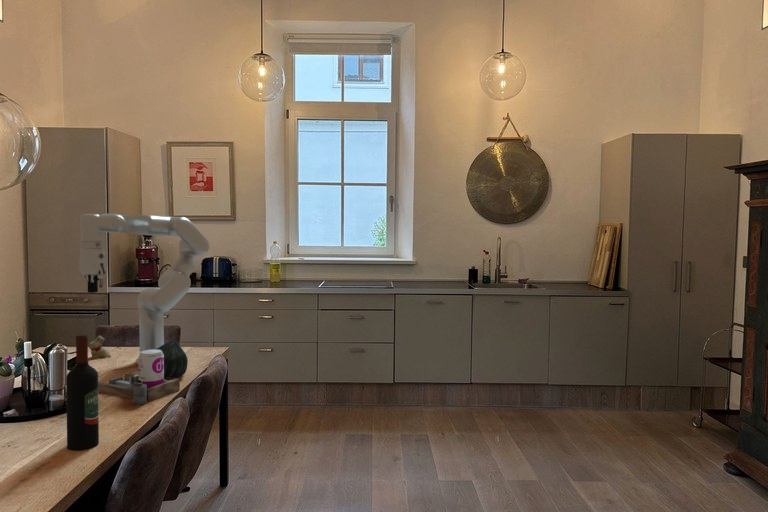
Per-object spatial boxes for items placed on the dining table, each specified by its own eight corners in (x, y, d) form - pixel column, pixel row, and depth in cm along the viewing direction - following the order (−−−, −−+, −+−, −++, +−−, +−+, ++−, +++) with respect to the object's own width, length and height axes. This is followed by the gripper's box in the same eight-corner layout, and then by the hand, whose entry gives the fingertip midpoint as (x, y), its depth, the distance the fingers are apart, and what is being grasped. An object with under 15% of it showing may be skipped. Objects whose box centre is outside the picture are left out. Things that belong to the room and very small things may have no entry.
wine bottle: (75, 439, 152) (73, 332, 150) (103, 439, 153) (102, 332, 151) (61, 451, 145) (59, 338, 143) (91, 450, 145) (90, 338, 143)
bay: (127, 380, 208) (127, 357, 207) (182, 390, 197) (182, 366, 197) (82, 394, 190) (82, 369, 190) (139, 406, 180) (139, 379, 179)
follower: (125, 381, 205) (125, 365, 205) (154, 386, 200) (154, 370, 199) (102, 388, 196) (102, 372, 196) (132, 394, 190) (131, 377, 190)
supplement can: (169, 391, 195) (168, 350, 194) (150, 398, 188) (150, 355, 187) (152, 388, 198) (151, 347, 198) (133, 395, 191) (133, 352, 190)
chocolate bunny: (97, 355, 244) (97, 332, 243) (112, 356, 242) (112, 334, 241) (87, 358, 239) (87, 335, 238) (102, 359, 237) (102, 336, 236)
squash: (133, 364, 210) (153, 338, 205) (164, 357, 224) (183, 332, 219) (152, 393, 206) (173, 367, 201) (183, 384, 219) (202, 359, 215)
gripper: (114, 245, 215) (114, 292, 216) (86, 244, 220) (87, 289, 222) (97, 246, 208) (98, 294, 209) (69, 245, 213) (70, 292, 215)
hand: (92, 292), depth 215 cm, fingers closed
